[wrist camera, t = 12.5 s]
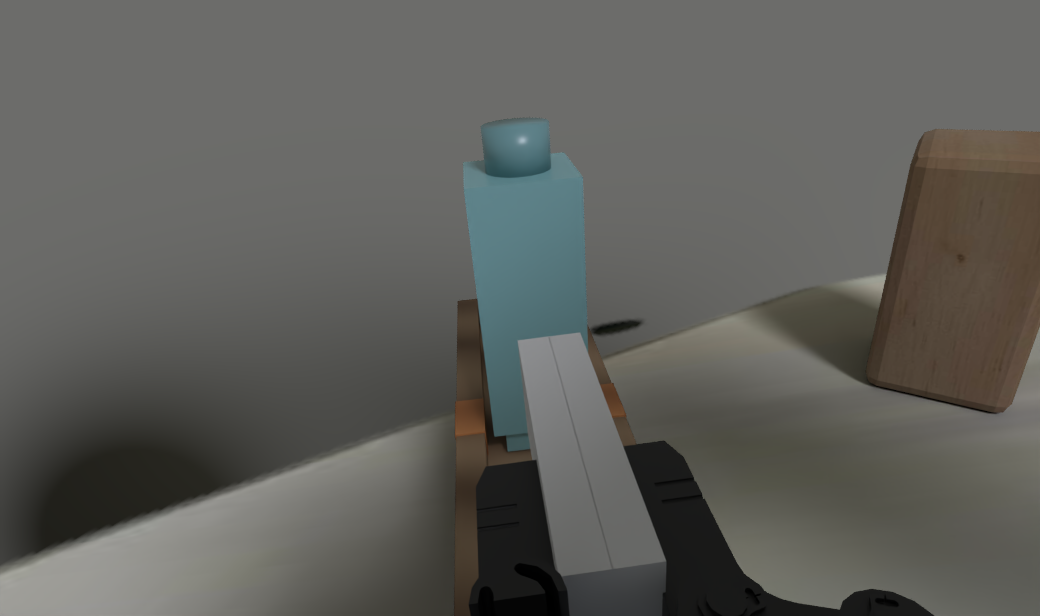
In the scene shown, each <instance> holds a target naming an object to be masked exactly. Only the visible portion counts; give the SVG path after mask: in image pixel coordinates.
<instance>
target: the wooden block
mask: <svg viewBox="0 0 1040 616" xmlns="http://www.w3.org/2000/svg"><path fill="white" fill-rule="evenodd" d="M1039 327H1040V132H1025V131H989V130H953V129H935V130H932V131H928V132H925V133H924V134H923V136H922V137H921V139H920V140H919V142H918V145H917V147H916V150H915V153H914V157H913V159H912V163H911V165H910V170H909V175H908V179H907V184H906V188H905V193H904V198H903V202H902V206H901V211H900V216H899V220H898V225H897V229H896V234H895V238H894V243H893V248H892V253H891V257H890V261H889V266H888V271H887V275H886V280H885V284H884V289H883V293H882V298H881V303H880V307H879V312H878V316H877V321H876V326H875V330H874V335H873V339H872V344H871V348H870V353H869V358H868V362H867V367H866V371H865V372H866V375H867V378H868V381H869V382H870V383H872V384H874V385H876V386H881V387H885V388H889V389H894V390H898V391H902V392H907V393H911V394H915V395H920V396H924V397H928V398H933V399H937V400H941V401H946V402H950V403H955V404H959V405H963V406H968V407H972V408H976V409H981V410H985V411H989V412H1004V411H1005V410H1006V409H1007V407H1009V406H1010V405H1011V404H1012V402H1013V399H1014V396H1015V393H1016V391H1017V388H1018V385H1019V382H1020V380H1021V377H1022V374H1023V371H1024V369H1025V366H1026V363H1027V360H1028V357H1029V355H1030V352H1031V349H1032V346H1033V344H1034V341H1035V338H1036V335H1037V332H1038V330H1039Z"/></svg>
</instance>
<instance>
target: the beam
mask: <svg viewBox="0 0 1040 616" xmlns="http://www.w3.org/2000/svg"><path fill="white" fill-rule="evenodd" d="M457 324H458V325H457V401H456V402H455V404H456V405H455V438H456V498H455V587H454V616H471V615H470V610H469V605H468V604H469V599H470V594H471V589H472V586H473V585H474V583H475V582H476V580H477V579H478V577H479V575H478V543H477V510H476V485H477V483H478V481H479V479H480V477H481V475H482V473H483V471H484V469H485V467H486V466H493V465H501V464H508V463H515V462H523V461H530V460H532V455H531V449H526V450H518V451H510V452H508V449H507V440H506V435H505V436H497V437H494V430H493V421H492V413H491V405H490V397H489V389H488V381H487V373H486V365H485V356H484V348H483V340H482V332H481V324H480V316H479V308H478V300H477V299H472V300H462V301H458V322H457ZM587 333H588V354H589V357H590V360H591V362H592V365H593V368H594V370H595V373H596V376H597V378H598V381H599V384H600V386H601V389H602V392H603V394H604V397H605V400H606V402H607V405H608V408H609V410H610V413H611V416H612V418H613V421H614V424H615V426H616V429H617V431H618V434H619V437H620V439H621V442H622V445H623V446H628V445H636V441H635V439H634V436H633V434H632V432H631V429H630V427H629V424H628V422H627V419H626V413H625V411H624V408H623V406H622V403H621V401H620V399H619V396H618V394H617V391H616V389H615V387H614V384H613V383H611V380H610V378H609V376H608V373H607V371H606V368H605V366H604V363H603V361H602V359H601V356H600V354H599V351H598V349H597V347H596V344H595V342H594V339H593V337H592V334H591V332H590V329H589V327H588V325H587Z"/></svg>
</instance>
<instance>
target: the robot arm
mask: <svg viewBox="0 0 1040 616" xmlns="http://www.w3.org/2000/svg"><path fill="white" fill-rule="evenodd" d="M518 349H519V358H520V367H521V376H522V385H523V394H524V403H525V412H526V421H527V430H528V437H529V443H530V449H531V455H532V460H530V461H523V462H515V463H508V464H501V465H493V466H486V467H485V469H484V471H483V473H482V475H481V477H480V479H479V481H478V483H477V485H476V510H477V543H478V575H479V577H478V579H477V580H476V582H475V583H474V585H473V586H472V589H471V594H470V599H469V604H468V605H469V610H470V615H471V616H934V615H933V614H931V613H930V612H929V611H927V610H926V609H924V608H923V607H922V606H920V605H919V604H918V603H916V602H915V601H913V600H910V599H908V598H906V597H903V596H901V595H898V594H896V593H894V592H889V591H882V590H876V589H869V590H863V591H858V592H854V593H853V594H852V595H850V596H849V597H848V598H846V599H845V600H844V601H843V602H842V605H841V609H840V610H837V609H831V608H825V607H818V606H812V605H805V604H799V603H795V602H791V601H787V600H783V599H780V598H778V597H776V596H774V595H771V594H769V593H767V592H766V591H764V590H763V588H762V587H761V586H760V585H759V584H758V583H756V582H755V581H753V580H752V579H750V578H749V577H748V576H746V575H745V574H744V573H743V571H742V570H741V568H740V567H739V565H738V564H737V562H736V560H735V558H734V556H733V554H732V552H731V550H730V548H729V546H728V544H727V542H726V541H725V539H724V537H723V535H722V533H721V531H720V529H719V527H718V525H717V523H716V521H715V519H714V517H713V515H712V513H711V511H710V509H709V507H708V505H707V503H706V501H705V499H703V496H702V493H701V491H700V489H699V487H698V485H697V483H696V482H695V481H694V477H693V475H692V473H691V471H690V469H689V467H688V465H687V463H686V461H685V459H684V457H683V456H682V455H680V454H679V453H678V452H677V451H676V450H675V449H673V448H672V447H671V446H670V445H669V444H667V443H666V442H665V441H658V442H651V443H643V444H636V445H628V446H623V445H622V442H621V439H620V437H619V434H618V431H617V429H616V426H615V424H614V421H613V418H612V416H611V413H610V410H609V408H608V405H607V402H606V400H605V397H604V394H603V392H602V389H601V386H600V384H599V381H598V378H597V376H596V373H595V370H594V368H593V365H592V362H591V360H590V357H589V354H588V352H587V349H586V347H585V344H584V341H583V339H582V336H581V333H580V332H579V333H572V334H564V335H556V336H548V337H540V338H532V339H525V340H518Z"/></svg>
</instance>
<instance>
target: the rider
mask: <svg viewBox="0 0 1040 616" xmlns="http://www.w3.org/2000/svg"><path fill="white" fill-rule="evenodd" d="M481 133H482V143H483V153H484V160H483V161H473V162H464V165H463V166H464V194H465V202H466V210H467V217H468V227H469V235H470V242H471V251H472V258H473V267H474V275H475V283H476V291H477V300H478V308H479V316H480V324H481V332H482V340H483V348H484V356H485V365H486V373H487V381H488V389H489V397H490V405H491V413H492V421H493V430H494V437H497V436H505V435H506V440H507V449H508V452H510V451H518V450H526V449H530V443H529V437H528V430H527V421H526V412H525V403H524V394H523V385H522V376H521V367H520V358H519V349H518V340H525V339H532V338H540V337H548V336H556V335H564V334H572V333H579V332H580V333H581V336H582V339H583V341H584V344H585V347H586V349H587V352H588V333H587V301H586V270H585V237H584V204H583V177H582V176H581V174H580V173H579V171H578V170H577V169H576V168H575V167H574V165H573V164H572V162H571V161H570V160H569V158H568V157H567V156H566V154H565V153H554V154H551V153H550V135H549V121H548V120H546V119H542V118H514V119H504V120H498V121H493V122H489V123H486V124H483V125H482V126H481Z"/></svg>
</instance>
